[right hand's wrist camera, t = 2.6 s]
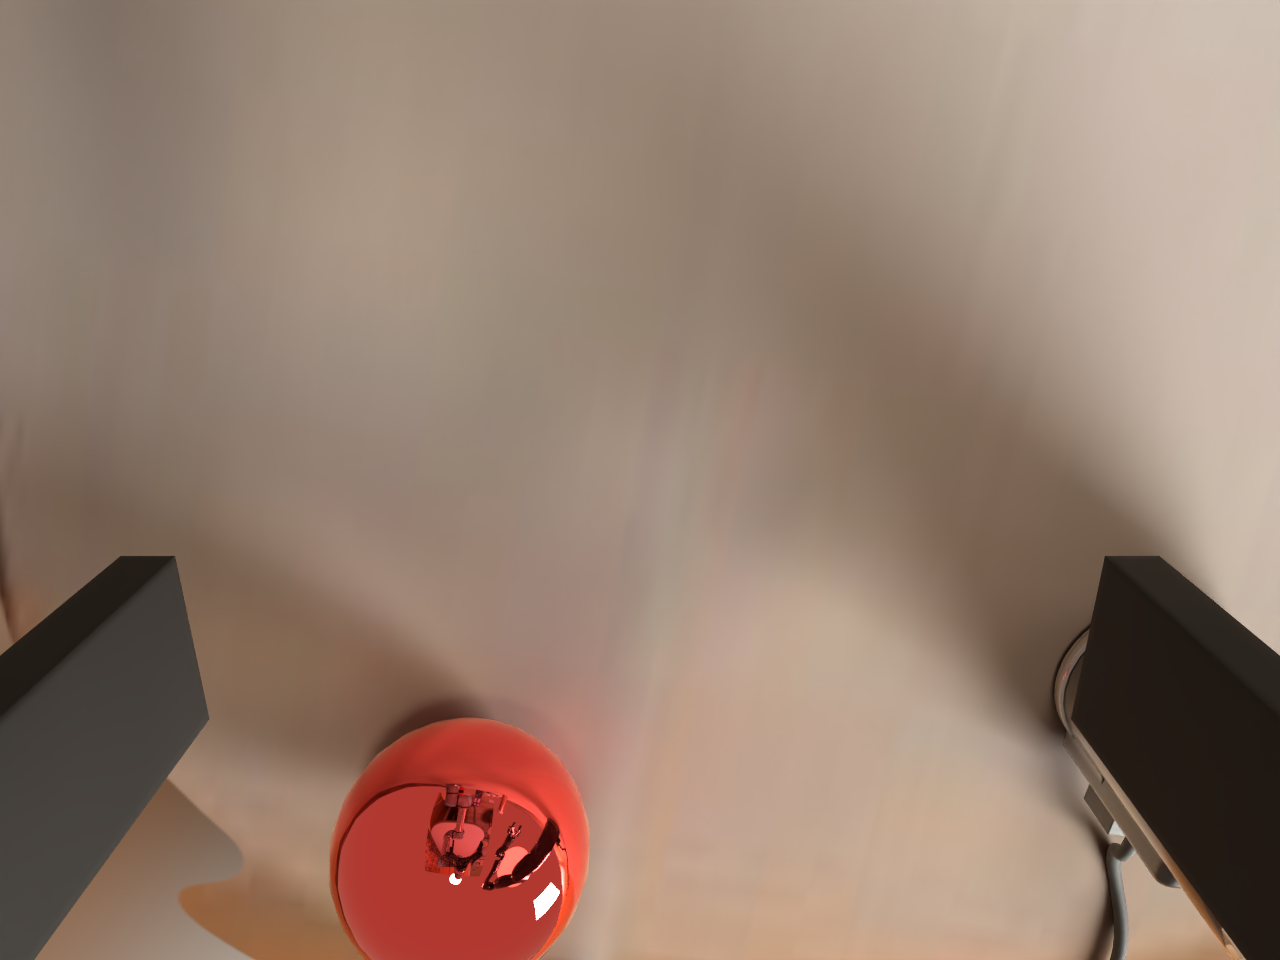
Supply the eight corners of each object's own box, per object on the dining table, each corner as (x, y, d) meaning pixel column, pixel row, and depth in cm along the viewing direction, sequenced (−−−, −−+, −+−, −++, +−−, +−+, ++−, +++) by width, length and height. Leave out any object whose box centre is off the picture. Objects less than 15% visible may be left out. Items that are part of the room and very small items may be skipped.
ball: (510, 885, 51) (474, 1097, 40) (328, 779, 48) (235, 975, 37) (641, 749, 48) (641, 940, 36) (453, 627, 45) (392, 793, 34)
